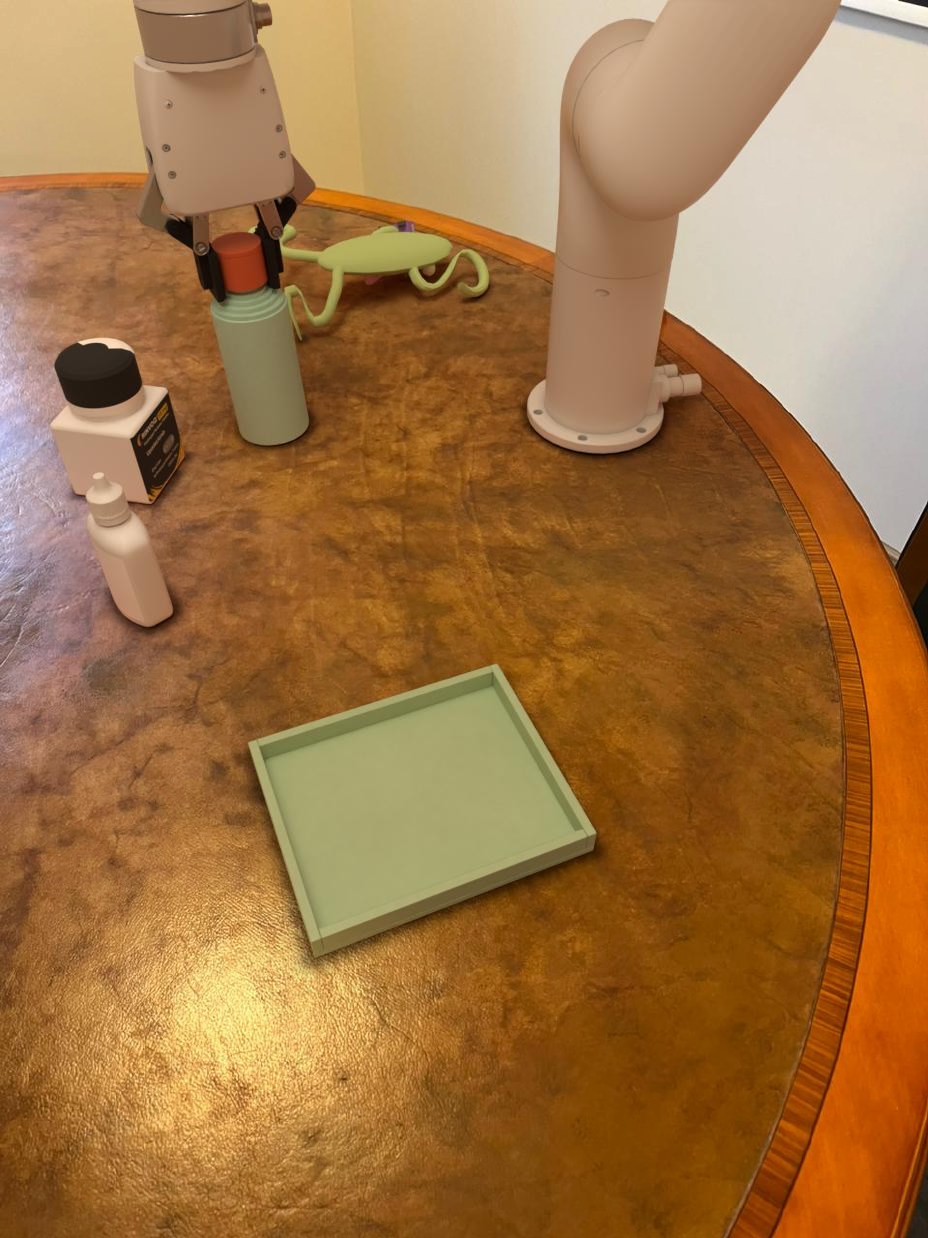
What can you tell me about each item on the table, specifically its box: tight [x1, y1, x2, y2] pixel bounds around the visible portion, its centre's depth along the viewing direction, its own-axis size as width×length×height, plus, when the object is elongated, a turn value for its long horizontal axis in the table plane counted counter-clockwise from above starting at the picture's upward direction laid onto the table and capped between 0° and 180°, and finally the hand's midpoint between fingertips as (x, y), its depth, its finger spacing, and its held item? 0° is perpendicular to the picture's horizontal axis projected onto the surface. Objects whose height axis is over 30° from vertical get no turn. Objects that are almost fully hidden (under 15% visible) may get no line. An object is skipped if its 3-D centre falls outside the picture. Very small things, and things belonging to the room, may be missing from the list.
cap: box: [210, 231, 268, 292], centre depth 75 cm, size 4×4×3 cm
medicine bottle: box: [49, 337, 186, 505], centre depth 76 cm, size 7×7×12 cm
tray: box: [247, 663, 597, 959], centre depth 57 cm, size 17×14×2 cm
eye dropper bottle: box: [85, 473, 174, 628], centre depth 65 cm, size 4×6×12 cm
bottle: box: [209, 282, 310, 446], centre depth 80 cm, size 6×6×16 cm
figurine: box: [247, 220, 490, 341], centre depth 103 cm, size 18×27×6 cm
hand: (243, 286), depth 76 cm, fingers closed on cap, 3 cm apart
